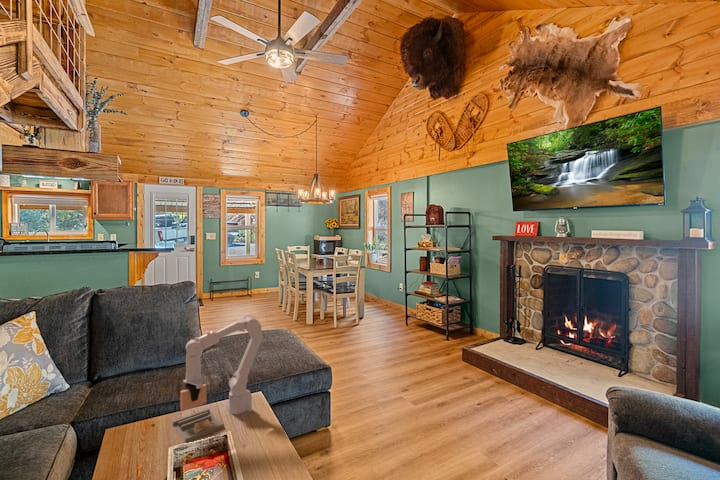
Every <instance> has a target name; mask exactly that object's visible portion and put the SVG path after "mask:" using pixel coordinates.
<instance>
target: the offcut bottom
mask: <svg viewBox="0 0 720 480" xmlns="http://www.w3.org/2000/svg"><path fill="white" fill-rule="evenodd" d="M211 427H213V425H212V424H211V423H210V427H207V428H204V429H201V430H198V431H196V429H195V428H194V432H195V433H199V432H201V431H204V430H206V429H209V428H211Z"/></svg>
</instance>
